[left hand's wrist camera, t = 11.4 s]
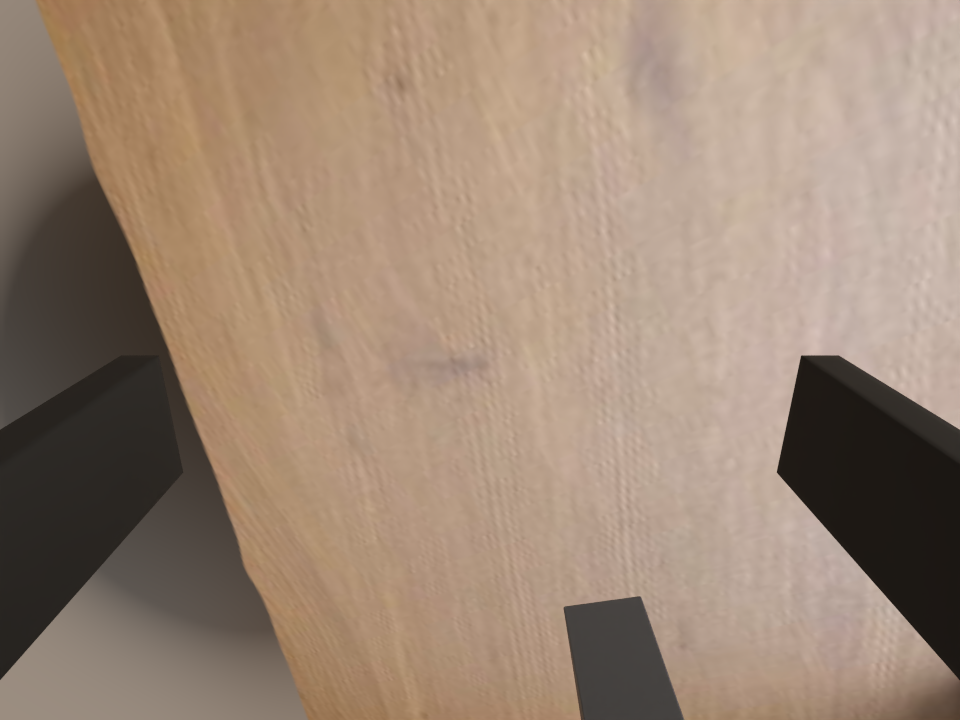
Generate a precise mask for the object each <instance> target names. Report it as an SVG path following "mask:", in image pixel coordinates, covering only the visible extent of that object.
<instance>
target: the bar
mask: <svg viewBox="0 0 960 720" xmlns="http://www.w3.org/2000/svg"><path fill="white" fill-rule="evenodd" d="M564 613H565V620H566V626H567V632H568V639H569V645H570V651H571V658H572V664H573V671H574V677H575V683H576V690H577V696H578V702H579V709H580V715H581V720H684V718H683V715H682V712H681V709H680V707H679V704H678V701H677V698H676V695H675V692H674V689H673V687H672V684H671V681H670V678H669V675H668V672H667V670H666V667H665V664H664V661H663V658H662V655H661V652H660V650H659V647H658V644H657V641H656V638H655V635H654V632H653V630H652V627H651V624H650V621H649V618H648V615H647V613H646V610H645V607H644V604H643V601H642V598H641V597H640V596H639V597H632V598H624V599H617V600H610V601H603V602H595V603H588V604H581V605H573V606H566V607H564Z"/></svg>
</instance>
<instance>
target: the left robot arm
mask: <svg viewBox="0 0 960 720" xmlns="http://www.w3.org/2000/svg"><path fill="white" fill-rule="evenodd" d="M182 473H183V469H182V465H181V460H180V455H179V450H178V445H177V441H176V436H175V431H174V426H173V421H172V417H171V412H170V407H169V402H168V397H167V393H166V388H165V383H164V378H163V373H162V369H161V364H160V359H159V356H120V357H118V358H117V359H115V360H113V361H112V362H110V363H108V364H107V365H105V366H104V367H102V368H100V369H99V370H97V371H95V372H94V373H92V374H90V375H89V376H87V377H86V378H84V379H82V380H81V381H79V382H77V383H76V384H74V385H72V386H71V387H69V388H68V389H66V390H64V391H63V392H61V393H60V394H58V395H56V396H55V397H53V398H51V399H50V400H48V401H46V402H45V403H43V404H42V405H40V406H38V407H37V408H35V409H33V410H32V411H30V412H28V413H27V414H25V415H24V416H22V417H20V418H19V419H17V420H15V421H14V422H12V423H11V424H9V425H7V426H6V427H4V428H2V429H1V430H0V680H1V678H2V677H3V676H4V675H5V674H6V673H7V672H8V671H9V669H10V668H11V667H12V666H13V665H14V664H15V663H16V661H17V660H18V659H19V658H20V657H21V656H22V655H23V654H24V652H25V651H26V650H27V649H28V648H29V647H30V646H31V644H32V643H33V642H34V641H35V640H36V639H37V638H38V637H39V635H40V634H41V633H42V632H43V631H44V630H45V629H46V627H47V626H48V625H49V624H50V623H51V622H52V621H53V619H54V618H55V617H56V616H57V615H58V614H59V613H60V611H61V610H62V609H63V608H64V607H65V606H66V605H67V604H68V602H69V601H70V600H71V599H72V598H73V597H74V596H75V595H76V593H77V592H78V591H79V590H80V589H81V588H82V587H83V585H84V584H85V583H86V582H87V581H88V580H89V579H90V577H91V576H92V575H93V574H94V573H95V572H96V571H97V570H98V568H99V567H100V566H101V565H102V564H103V563H104V562H105V561H106V559H107V558H108V557H109V556H110V555H111V554H112V553H113V551H114V550H115V549H116V548H117V547H118V546H119V545H120V543H121V542H122V541H123V540H124V539H125V538H126V537H127V536H128V534H129V533H130V532H131V531H132V530H133V529H134V528H135V526H136V525H137V524H138V523H139V522H140V521H141V520H142V519H143V517H144V516H145V515H146V514H147V513H148V512H149V511H150V509H151V508H152V507H153V506H154V505H155V504H156V503H157V501H158V500H159V499H160V498H161V497H162V496H163V495H164V493H165V492H166V491H167V490H168V489H169V488H170V487H171V486H172V484H173V483H174V482H175V481H176V480H177V479H178V478H179V476H180V475H181V474H182ZM777 473H778V474H779V475H780V477H781V478H782V479H783V480H784V481H785V482H786V483H787V484H788V486H789V487H790V488H791V489H792V490H793V491H794V492H795V494H796V495H797V496H798V497H799V498H800V499H801V500H802V502H803V503H804V504H805V505H806V506H807V507H808V508H809V509H810V511H811V512H812V513H813V514H814V515H815V516H816V517H817V519H818V520H819V521H820V522H821V523H822V524H823V525H824V526H825V528H826V529H827V530H828V531H829V532H830V533H831V534H832V536H833V537H834V538H835V539H836V540H837V541H838V542H839V543H840V545H841V546H842V547H843V548H844V549H845V550H846V551H847V553H848V554H849V555H850V556H851V557H852V558H853V559H854V561H855V562H856V563H857V564H858V565H859V566H860V567H861V568H862V570H863V571H864V572H865V573H866V574H867V575H868V576H869V578H870V579H871V580H872V581H873V582H874V583H875V584H876V585H877V587H878V588H879V589H880V590H881V591H882V592H883V593H884V595H885V596H886V597H887V598H888V599H889V600H890V601H891V602H892V604H893V605H894V606H895V607H896V608H897V609H898V610H899V612H900V613H901V614H902V615H903V616H904V617H905V618H906V619H907V621H908V622H909V623H910V624H911V625H912V626H913V627H914V629H915V630H916V631H917V632H918V633H919V634H920V635H921V637H922V638H923V639H924V640H925V641H926V642H927V643H928V644H929V646H930V647H931V648H932V649H933V650H934V651H935V652H936V654H937V655H938V656H939V657H940V658H941V659H942V660H943V661H944V663H945V664H946V665H947V666H948V667H949V668H950V669H951V671H952V672H953V673H954V674H955V675H956V676H957V677H958V678H959V680H960V430H959V429H958V428H956V427H954V426H953V425H951V424H949V423H948V422H946V421H945V420H943V419H941V418H940V417H938V416H936V415H935V414H933V413H932V412H930V411H928V410H927V409H925V408H923V407H922V406H920V405H918V404H917V403H915V402H914V401H912V400H910V399H909V398H907V397H905V396H904V395H902V394H901V393H899V392H897V391H896V390H894V389H892V388H891V387H889V386H888V385H886V384H884V383H883V382H881V381H879V380H878V379H876V378H874V377H873V376H871V375H870V374H868V373H866V372H865V371H863V370H861V369H860V368H858V367H857V366H855V365H853V364H852V363H850V362H848V361H847V360H845V359H843V358H842V357H840V356H801V359H800V364H799V369H798V373H797V378H796V383H795V388H794V393H793V397H792V402H791V407H790V412H789V417H788V421H787V426H786V431H785V436H784V441H783V445H782V450H781V455H780V460H779V464H778V469H777Z"/></svg>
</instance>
